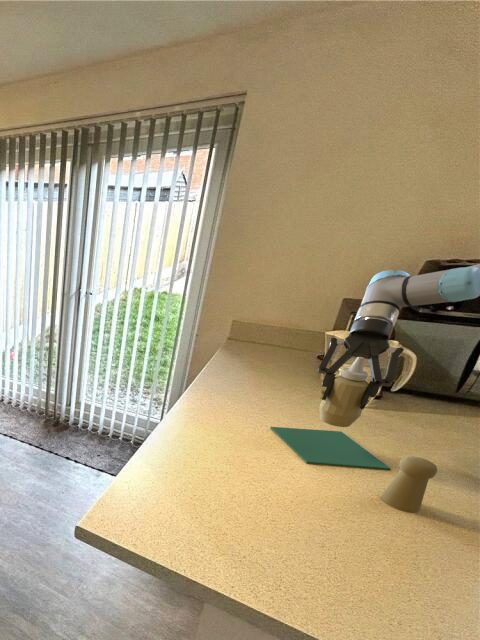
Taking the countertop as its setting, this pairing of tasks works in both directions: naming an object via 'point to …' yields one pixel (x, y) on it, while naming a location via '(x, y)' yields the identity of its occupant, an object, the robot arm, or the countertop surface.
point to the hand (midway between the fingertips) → (343, 402)
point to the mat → (328, 448)
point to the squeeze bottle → (345, 396)
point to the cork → (409, 484)
